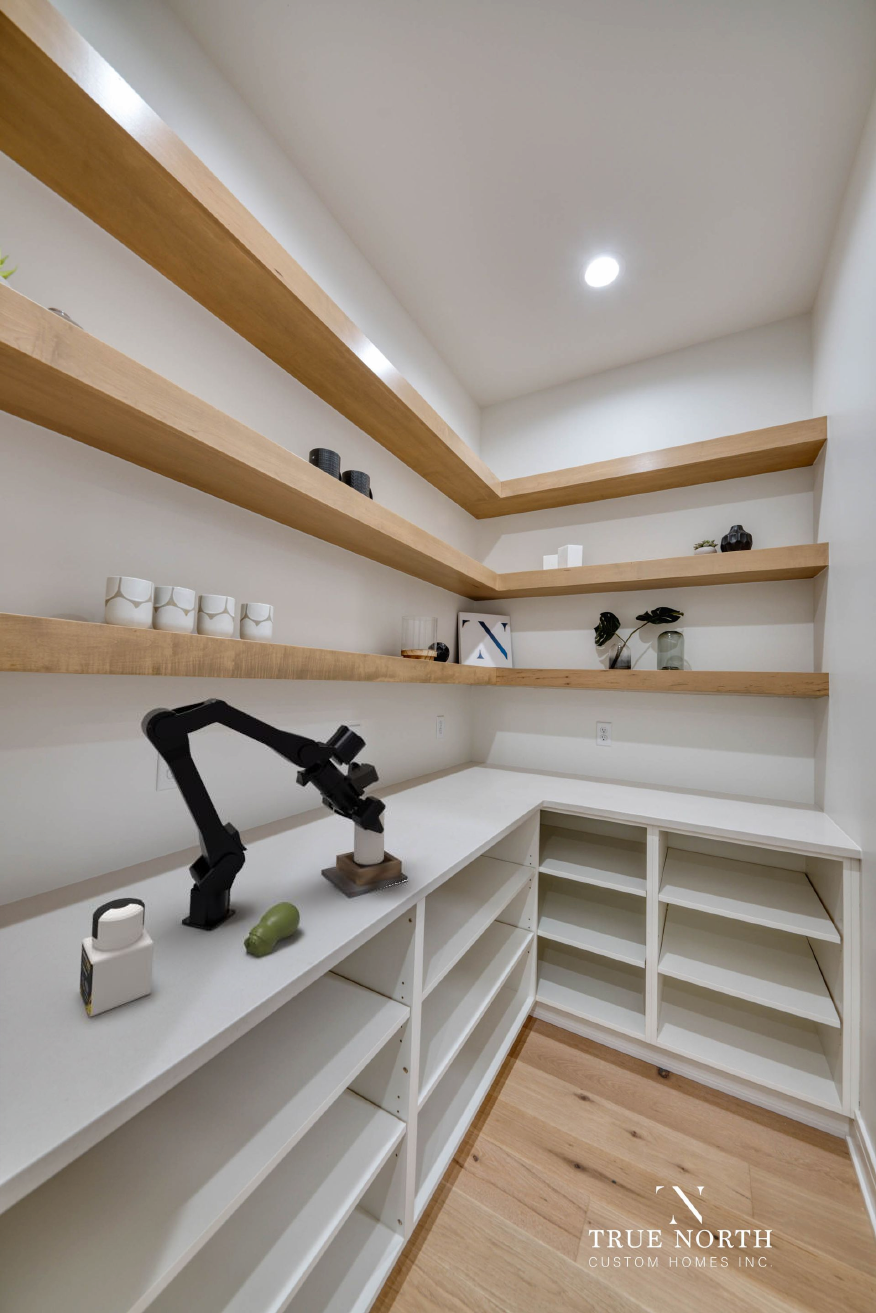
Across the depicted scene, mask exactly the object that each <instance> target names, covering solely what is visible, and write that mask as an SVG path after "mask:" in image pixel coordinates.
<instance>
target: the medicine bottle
mask: <svg viewBox="0 0 876 1313" xmlns="http://www.w3.org/2000/svg"><path fill="white" fill-rule="evenodd" d="M145 908H146V904H145V903H144V901H142V900H141V899H139V898H136V897H135V898H134V897H125V898H124V897H122V898H117V899H114V900H111V901H108V902H106V903H104V904H102V905H101V906H99V907H98V908H97V909H96V910H95V911H94V912H93V913H92V924H91V927H92V928H91V936H89V937H85V938H83V939H82V941H81V956H80V974H79V975H80V976H79V978H80V979H79V992H80V995H81V998H82V1000H83V1003H84V1006H85V1010H86V1011H87V1015H88V1016H89V1017H94V1016H96V1015H99V1014H101V1013H104V1012H107V1011H109V1010H111V1009H115V1008H117V1007H120V1006H122V1005H125V1004H127V1003H129V1002H131V1001H134V1000H137V999H140V998H142V997H144V996H147V995H149V994H151V992H152V981H153V980H152V979H153V978H152V977H153V962H154V960H153V959H154V941H153V940H152V938H151V937H150V935H149V933H148V932H147V930H146V929H145V911H146V910H145Z"/></svg>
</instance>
